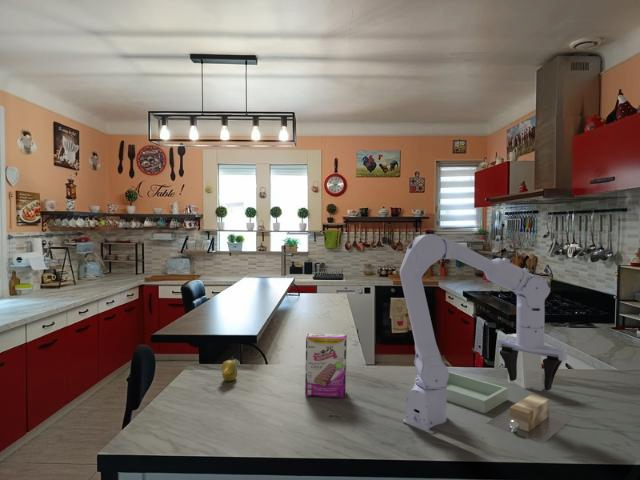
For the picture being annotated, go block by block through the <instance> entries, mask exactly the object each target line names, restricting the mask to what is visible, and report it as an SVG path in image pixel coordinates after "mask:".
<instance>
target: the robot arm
mask: <svg viewBox="0 0 640 480" xmlns="http://www.w3.org/2000/svg"><path fill="white" fill-rule="evenodd" d="M441 259H445V260H448V259H449V260H450V259H451V260H452V259H454V260H457V261H459V262H461V263H463V264H466V265H467V266H471V267H473V268H475V269H477V270H480V271H482V272H483V273H484V275H485V278H486V279H487V281H489V282H492V283H494V284H495V285H498V286H499V287H502V288H504V289H506V290H508V291H511V292H513V293H514V294H515V295H516V334H517V335H516V340H510V339H506V338H503V337H501V338H498V339H497V340H496V341H497V342H496V345H497V346H496V348H500V349H501V350H500V351H499V355H500V356H501V358H502V360H503V363H504V365H505V367H506V371H507V375H508V374H509V378H510V381H514V380H516V378H517V357H518V351H522V352H526V353H531V354H536V355H541V357H545V358H544V359H542V366H543V373H544V383H543V388H544V391H546V392H547V391H550V390H551V389H552V386H553V382H554V379H555V376H556V373H557V372H558V369H559V368H560V366H561V365H562V363H563V362H565V361H566V360H567V359H568V351H567V350H564V349H560V348H557V347H553V346H550V345H546V344H545V313H546V312H545V310H546V309H545V301H546V299H547V298H548V296H549V294H550V293H551V287H549V284H548V282H547V281H546V279H545V278H544V277H543V276H541V275H537V274H532V273H530V269H528V268H526V267H523V268H521V267H519V266H517V265H516V264H513V263H511V260H510V258H507V257H503V258H501V257H496V258H493V259H490V258H488V257H486V256H483V255H481V254H480V253H479V252H476V251H474V250H472V249H470V248H468V247H467V246H464V245H463V244H461V243H459V242H457V241H454V240H451V239H449V238H445V237H440V236H439V235H438V234H435V233H434V234H433V233H429V234H419V235H417V236H415V237H414V238H413V240H411V242H410V243H408V246H407V248H406V251H405V254H404V257H403V259H402V263H401V265H400V268H399V277H400V278H399V279H400V282H401V287H402V291H403V295H404V299H405V300H404V301H405V304H406V308H407V313H408V317H409V318H408V319H409V322H410V327H411V332H412V336H413V340H414V351H415V357H414V360H413V361H414V362H413V363H414V364H413V365H414V367H415V370H416V371H417V373H418V374H417V375H416V377H415V378H414V385H413V387H412V388H411V389H410V390H409V391H408V392H407V393H406V394H407V395H406V398H405V399H406V400H405V401H406V402H405V404H406V405H405V409H406V411H405V414H406V415H405V418H403V419H402V421H403V423H405V424H407V425H409V426H412V427H415V428H417V429H419V430H422V432H423V431H424V432H426V433H428V434H431V435H432V434H435V433H437V431H436V430H434V429H432V428H433V427H435V426H437V425H442V424H445V422H447V409H448V408H447V407H448V405H447V403H448V401H447V381H448V379H449V372H450V371H449V369H448V367H447V365H445V363H444V362H443V360H442V356H441V352H440V350H439V347H438V345H437V341H436V337H435V331H434V328H433V327H434V326H433V324H432V320H431V315H430V310H429V306H428V301H427V297H426V292H425V288H424V284H423V278H422V277H423V275H425V273H426V272H427V270H428V269H429V268H430V266H432V265H434V264H435V263H437V262H438V261H440V260H441Z"/></svg>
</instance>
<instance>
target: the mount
mask: <svg viewBox="0 0 640 480" xmlns="http://www.w3.org/2000/svg"><path fill="white" fill-rule="evenodd" d="M571 420H573V417H570V416H566V415H562V414H561V413H557V412H554V411H550V410H549V417H547V418H546V419H545V420H543V421H542V422H541V423H539V424H538V425H537V426H535V427H534V428H533V429H532V430H531V431H529V432H527V431H524V430H522V429H519V427H520V424H519V422H518V421H517V420H511V421H510V407H509V408H508V409H506V410H505V411H503V412H502V413H500V414H498V415H497V416H495V417H493V418H492V419H490V420H489V421H487V422H485V423H486V424H487V425H489V426H492V427H495V428H498V429H499V430H503V431H506V432H509V433H510V434H514V435H517V436H520V437H522V438H524V439H528V440H530V441H533V442H537V443H538V444H542V445H543V444H545V443H546V442H547V441H548V440H549V439H550V438H551V437H553V436H554V435H555V434H556V433H557V432H558V431H560V430H561V429H562V428H563V427H564V426H565V425H567V423H569V422H570V421H571Z"/></svg>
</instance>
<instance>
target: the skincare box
mask: <svg viewBox="0 0 640 480" xmlns="http://www.w3.org/2000/svg"><path fill="white" fill-rule="evenodd" d="M516 335H517V333H508V334H506V338H505V339H510V340H516ZM542 366H543V363H542V356H541V355H536V354H531V353H526V352H522V351H518V357H517V378H516V380H514V381H510V378H509V374H508V373H507V383H508V384H512V385H516V386H518V387H521V388H522V389H524V390H529V389H530V390H534V391H538V392H543V388H544V387H543V369H542Z"/></svg>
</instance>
